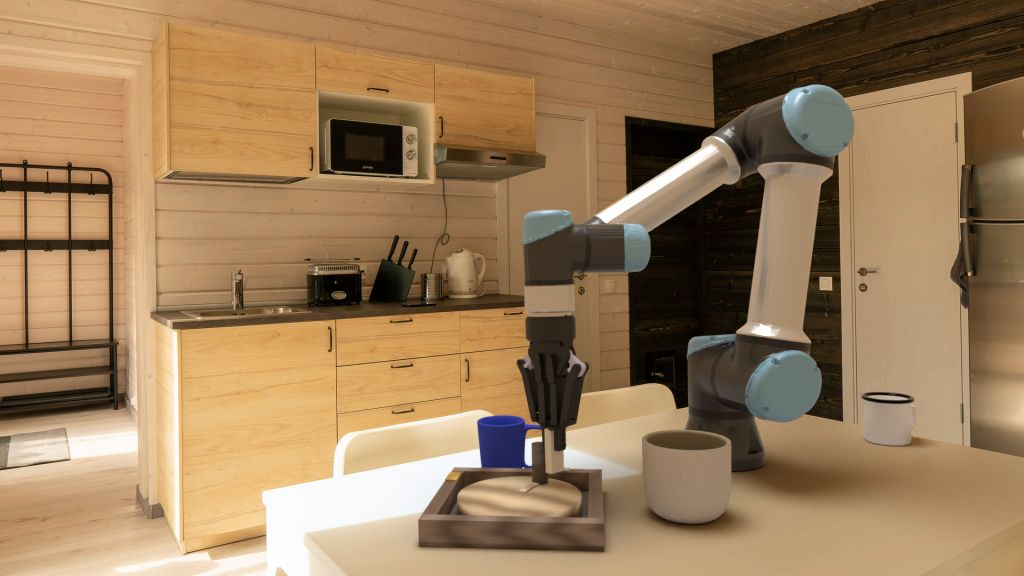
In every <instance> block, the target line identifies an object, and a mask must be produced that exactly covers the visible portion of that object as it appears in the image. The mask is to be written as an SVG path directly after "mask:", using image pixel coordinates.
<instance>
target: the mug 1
mask: <svg viewBox="0 0 1024 576" xmlns="http://www.w3.org/2000/svg"><path fill="white" fill-rule="evenodd" d="M476 424H477V425H476V426H477V436H478V447H479V455H480V456H479V458H480V466H481V467H480V468H532V465H528V464H527V463H526V459H525V458H526V457H525V456H526V440H527V439H526V438H527V432H528V431H531V430H539V431H542V428H541V427H540V425H539V424H530V423H529V424H528V423H526V420H525V418H523V417H521V416H516V415H509V414H505V415H503V414H501V415H500V414H499V415H490V416H484V417H481V418H479V419H477V421H476Z"/></svg>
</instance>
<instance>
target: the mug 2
mask: <svg viewBox="0 0 1024 576" xmlns="http://www.w3.org/2000/svg"><path fill="white" fill-rule="evenodd" d="M860 398H861V399H862V400H863V439H864V440H865V441H867V442H869V443H871V444H874V445H880V446H888V447H903V446H907V445H910V444H911V443H912V429H914V428H915V427H916V424H917V408H916V406H915V405H913V404H912V403H914V402H915V397H914V396H913V395H908V394H905V393H900V392H899V393H898V392H889V391H868V392H864V393H861V395H860Z"/></svg>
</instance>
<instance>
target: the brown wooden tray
mask: <svg viewBox="0 0 1024 576" xmlns="http://www.w3.org/2000/svg"><path fill="white" fill-rule="evenodd" d="M602 469H603V468H599V469H598V468H592V469H591V468H570V467H564V470H563V471H560V472H557V473H554V474H550V473H548V478H551V479H556V480H560V481H563V482H566V483H569V484H571V485H573V486H575V487H576V488H578V489H579V490H580V492H581V495H582V514H581V516H580V518H573V517H526V516H479V515H458V507H457V496H458V493H459V492H460V491H461V490H462V489H463V488H465V487H467V486H469V485H471V484H474V483H477V482H480V481H484V480H488V479H494V478H501V477H513V476H532V468H524V467H523V468H481V467H465V466H463V467H460V466H459V467H457V466H456V467H455V466H454V467H453V468H452V470H451V471H449V473H448V475H446V477H445V478H444V481H443V482H442V484H441V486H440V487H439V489H438V490H437V492H436V493H435V494H434V496H433V497H432V499H431V500H430V501H429V503H428V505H427V506H426V508H425V509H424V510H423V511H422V513H421V515H420V516H419V517H418V520H417V525H418V526H417V527H418V530H417V531H418V547H434V548H435V547H436V548H437V547H438V548H440V547H441V548H468V549H469V548H471V549H472V548H476V549H477V548H478V549H506V550H508V549H509V550H510V549H511V550H512V549H514V550H515V549H516V550H542V551H543V550H547V551H548V550H551V551H552V550H553V551H555V550H556V551H584V552H585V551H587V552H588V551H589V552H591V551H592V552H605V520H604V519H605V518H604V517H605V516H604V514H605V513H604V497H603V496H604V491H603V489H604V488H603V470H602Z"/></svg>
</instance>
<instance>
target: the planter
mask: <svg viewBox="0 0 1024 576" xmlns="http://www.w3.org/2000/svg"><path fill="white" fill-rule="evenodd" d="M641 454H642V458H641V459H642V480H643V481H642V482H643V491H644V497H645V500H646V501H647V504H648V506H649V508H650V509H651V510H652V512H654V514H656V515H657V516H658V517H660V518H662V519H664V520H667V521H669V522H674V523H678V524H687V525H697V524H698V525H700V524H706V523H707V524H708V523H710V522H713V521H715V520H716V519H718V518H720V517H721V516H722V515H723V514H724V512H725V511H726V509H727V507H728V505H729V501H730V498H731V491H732V490H731V488H732V487H731V486H732V471H731V441H730V440H729V439H728V438H726V437H724V436H722V435H719V434H715V433H710V432H704V431H696V430H685V429H666V430H659V431H658V430H656V431H652V432H650V433H646V434H645V435H643V436H642V437H641Z"/></svg>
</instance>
